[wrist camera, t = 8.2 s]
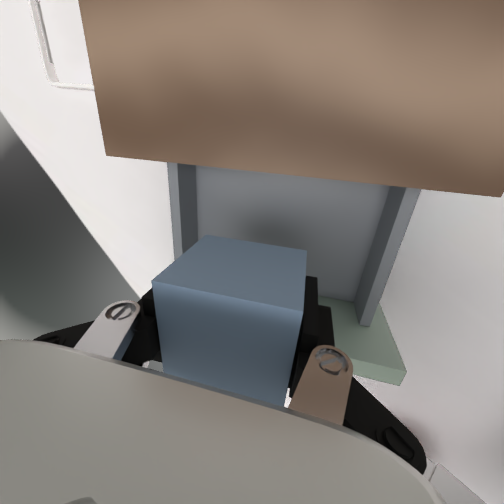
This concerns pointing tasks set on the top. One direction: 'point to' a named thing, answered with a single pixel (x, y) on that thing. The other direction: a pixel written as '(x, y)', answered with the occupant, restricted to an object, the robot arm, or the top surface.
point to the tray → (309, 242)
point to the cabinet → (306, 87)
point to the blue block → (232, 315)
